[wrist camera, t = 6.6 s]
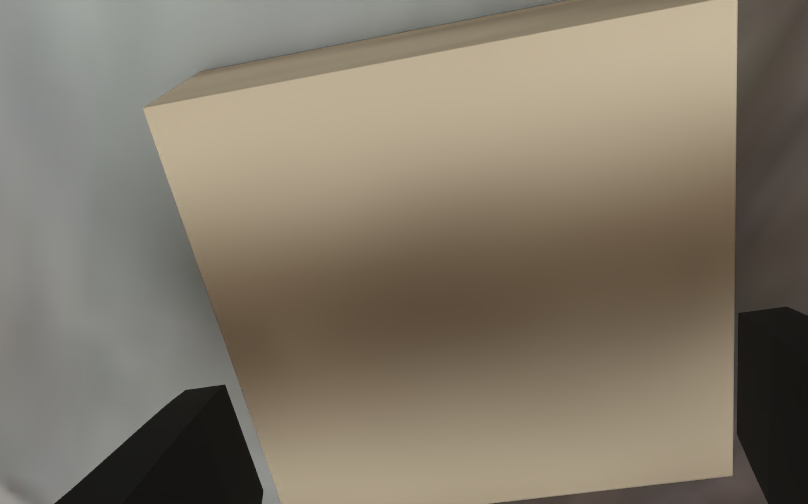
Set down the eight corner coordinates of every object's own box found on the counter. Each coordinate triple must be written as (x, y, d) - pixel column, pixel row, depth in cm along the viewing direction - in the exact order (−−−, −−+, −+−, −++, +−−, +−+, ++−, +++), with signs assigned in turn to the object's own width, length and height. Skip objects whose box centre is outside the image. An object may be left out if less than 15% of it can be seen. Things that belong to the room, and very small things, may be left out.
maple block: (682, 383, 16) (732, 475, 14) (311, 432, 17) (289, 526, 15) (671, -20, 13) (736, -5, 10) (200, 71, 14) (142, 108, 11)
